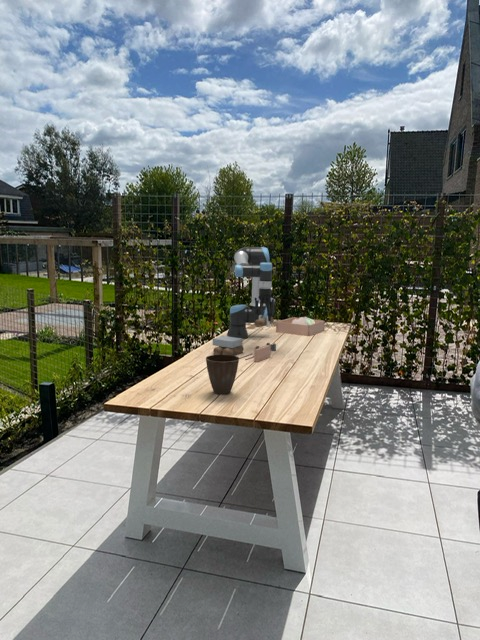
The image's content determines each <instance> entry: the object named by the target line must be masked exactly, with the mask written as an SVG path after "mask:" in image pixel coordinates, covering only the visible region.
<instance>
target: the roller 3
mask: <svg viewBox="0 0 480 640" xmlns="http://www.w3.org/2000/svg"><path fill="white" fill-rule="evenodd" d="M274 320H275V319H274V318H273V317H272V316H271V321H270V325H273V324H274ZM254 326H255V327H256V328H262V327H265V326H267V317H266V318H262V319H258V320H256V321H255V323H254Z"/></svg>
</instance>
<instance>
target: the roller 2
mask: <svg viewBox="0 0 480 640" xmlns="http://www.w3.org/2000/svg"><path fill="white" fill-rule="evenodd" d="M241 352H243V353H244V345H243V344H242V345H241V346H237V347H234V348H226V349H224V350H223V351H222V354H223V355H235V354H237V355H239V354H238V353H240V354H242V353H241ZM235 356H236V355H235Z"/></svg>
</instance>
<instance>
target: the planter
mask: <svg viewBox="0 0 480 640" xmlns="http://www.w3.org/2000/svg"><path fill="white" fill-rule="evenodd" d="M299 318H300V317H295V316H294V317H289V318H286V319H282V320H281V319H280V320H278V321H276V322H275V323H276V324H275V325H276V327H275V332H276V333H279V334H287V335H289V334H290V335H295V336H296V335H297V336H302V337H304V336H306V337H310V336H313V335H315V334H316V335H317V334H319V333H322V332H324V331H325V325H326V324H325V322H326V321H325V320H321V319H312V318H311V319H312V320H314V322H315V323H314V324H311V325H309V324H307V325H302V324H293V323H292V321H293V320H294V319H297V320H298V319H299Z"/></svg>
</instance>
